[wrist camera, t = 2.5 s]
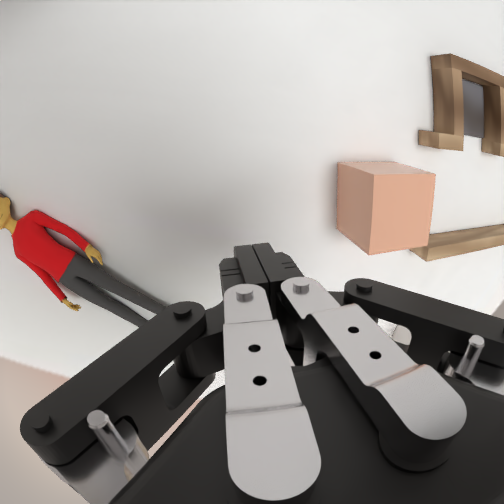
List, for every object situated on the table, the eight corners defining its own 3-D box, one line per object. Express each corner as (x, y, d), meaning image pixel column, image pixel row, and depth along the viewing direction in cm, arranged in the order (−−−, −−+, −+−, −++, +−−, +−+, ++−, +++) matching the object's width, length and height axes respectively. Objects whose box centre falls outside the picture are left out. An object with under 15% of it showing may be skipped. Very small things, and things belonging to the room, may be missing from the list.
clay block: (336, 162, 20) (374, 174, 16) (393, 161, 21) (435, 174, 17) (336, 228, 23) (368, 255, 18) (389, 222, 23) (427, 245, 19)
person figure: (154, 374, 20) (-45, 231, 13) (150, 350, 24) (-22, 226, 17) (192, 319, 20) (-13, 166, 13) (183, 301, 24) (7, 171, 17)
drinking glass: (378, 340, 28) (429, 410, 19) (422, 291, 27) (486, 351, 18) (405, 359, 31) (450, 419, 22) (444, 317, 29) (497, 370, 20)
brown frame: (414, 51, 18) (434, 48, 15) (538, 102, 21) (552, 104, 18) (409, 249, 24) (426, 261, 22) (528, 228, 28) (540, 235, 25)
